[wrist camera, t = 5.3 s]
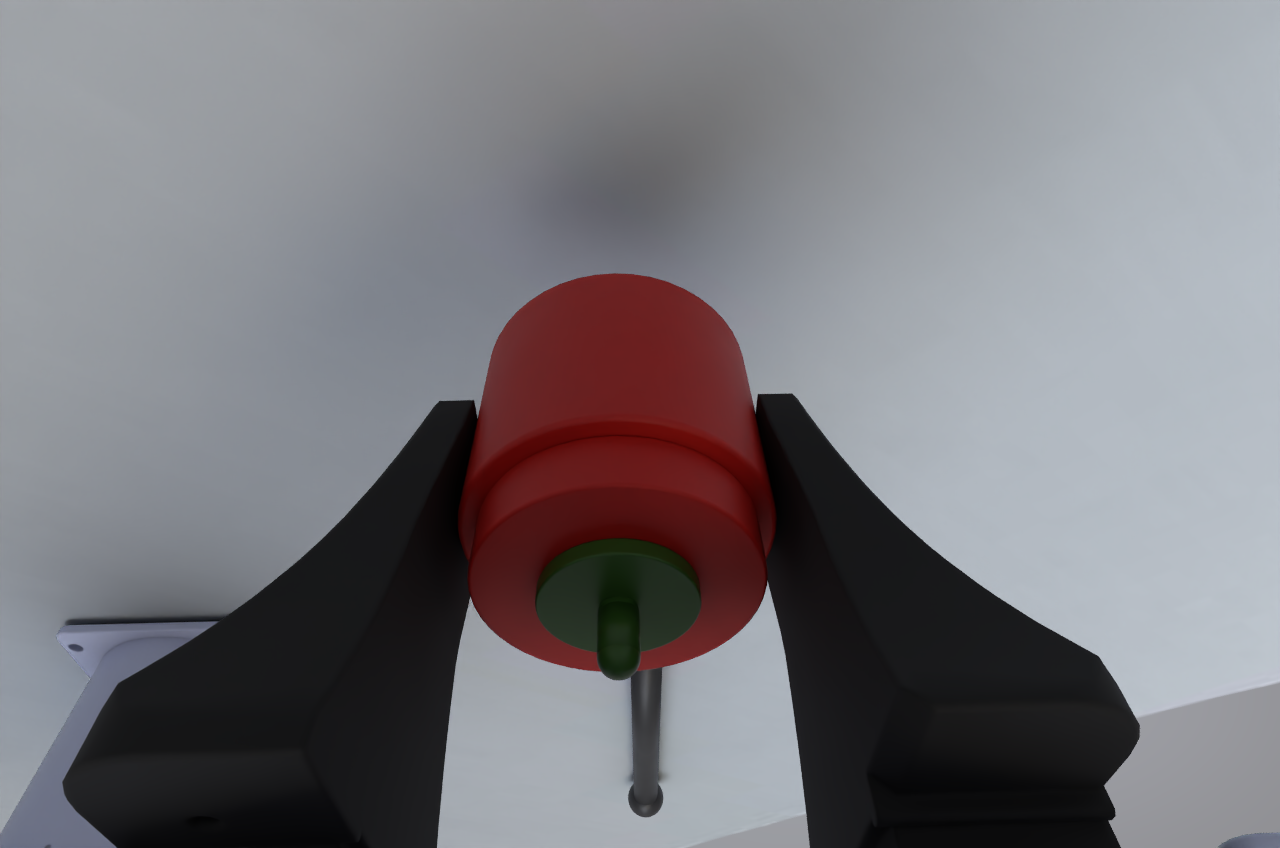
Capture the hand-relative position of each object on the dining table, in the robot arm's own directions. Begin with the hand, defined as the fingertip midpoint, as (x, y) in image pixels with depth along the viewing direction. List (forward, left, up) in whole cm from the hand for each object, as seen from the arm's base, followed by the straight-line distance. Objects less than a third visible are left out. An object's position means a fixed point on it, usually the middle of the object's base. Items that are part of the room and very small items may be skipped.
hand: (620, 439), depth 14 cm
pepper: (0, 0, -2) cm, 2 cm away
